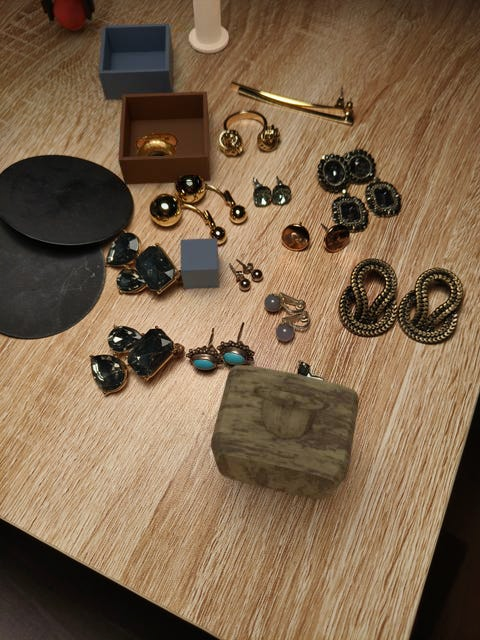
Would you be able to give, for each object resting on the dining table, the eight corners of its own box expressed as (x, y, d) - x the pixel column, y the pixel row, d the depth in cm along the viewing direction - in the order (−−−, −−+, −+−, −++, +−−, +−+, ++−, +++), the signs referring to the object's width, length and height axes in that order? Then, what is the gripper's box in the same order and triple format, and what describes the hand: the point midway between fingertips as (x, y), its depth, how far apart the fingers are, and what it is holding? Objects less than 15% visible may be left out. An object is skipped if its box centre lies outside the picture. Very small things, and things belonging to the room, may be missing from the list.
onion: (79, 14, 109) (67, -28, 102) (98, 30, 108) (87, -12, 100) (53, 28, 108) (39, -13, 100) (71, 45, 106) (59, 3, 99)
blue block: (184, 289, 84) (180, 270, 79) (183, 258, 86) (180, 239, 82) (219, 287, 84) (218, 269, 79) (218, 257, 86) (217, 237, 82)
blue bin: (105, 99, 100) (98, 73, 95) (109, 53, 105) (102, 25, 100) (172, 97, 100) (168, 70, 95) (172, 50, 105) (169, 23, 100)
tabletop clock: (341, 437, 74) (383, 361, 52) (330, 510, 71) (369, 463, 48) (229, 412, 76) (222, 328, 53) (211, 482, 72) (196, 424, 50)
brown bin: (124, 184, 92) (118, 160, 87) (128, 120, 98) (122, 94, 93) (210, 181, 92) (208, 156, 87) (208, 117, 98) (206, 91, 93)
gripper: (99, -110, 91) (121, -1, 107) (-15, -106, 90) (24, 3, 107) (96, -80, 87) (119, 28, 104) (-22, -76, 87) (19, 31, 103)
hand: (71, 14), depth 105 cm, fingers closed on onion, 5 cm apart
